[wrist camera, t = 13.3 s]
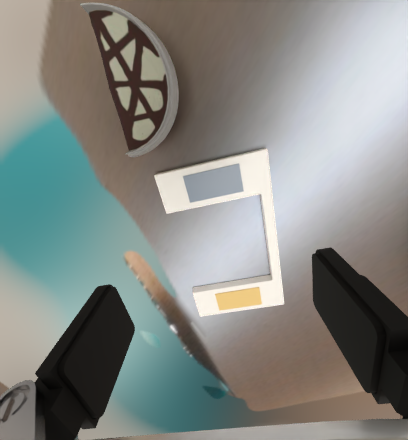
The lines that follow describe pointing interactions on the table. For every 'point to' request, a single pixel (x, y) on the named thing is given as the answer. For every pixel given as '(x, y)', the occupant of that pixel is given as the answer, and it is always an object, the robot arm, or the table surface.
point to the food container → (136, 76)
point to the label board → (220, 192)
